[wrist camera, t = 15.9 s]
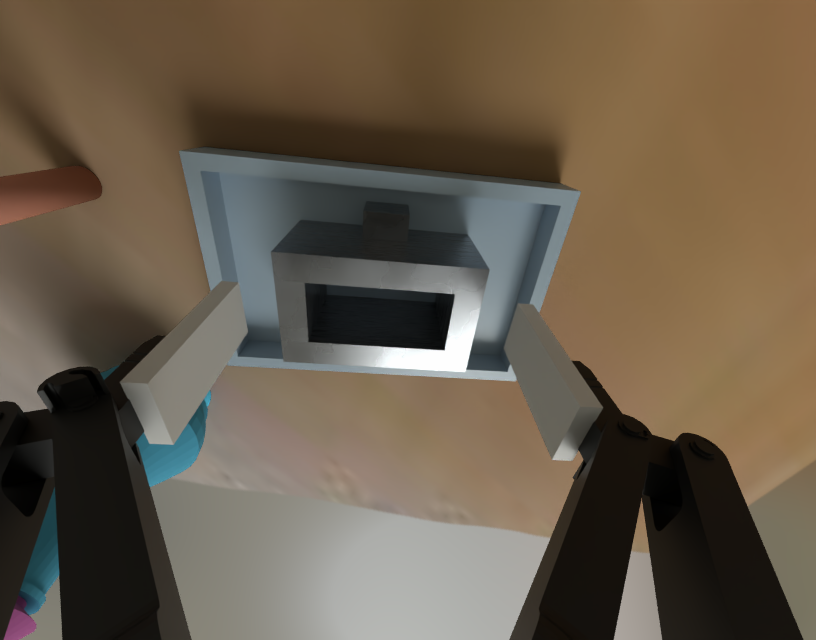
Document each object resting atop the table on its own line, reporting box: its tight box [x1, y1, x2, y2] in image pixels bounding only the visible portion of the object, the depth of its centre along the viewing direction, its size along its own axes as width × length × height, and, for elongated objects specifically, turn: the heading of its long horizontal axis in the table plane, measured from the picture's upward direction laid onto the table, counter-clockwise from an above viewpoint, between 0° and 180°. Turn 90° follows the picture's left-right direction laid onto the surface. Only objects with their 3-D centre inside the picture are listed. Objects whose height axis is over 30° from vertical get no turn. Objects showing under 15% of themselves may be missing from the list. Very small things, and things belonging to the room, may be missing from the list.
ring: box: [271, 201, 490, 372], centre depth 19 cm, size 10×8×6 cm
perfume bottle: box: [4, 365, 211, 640], centre depth 20 cm, size 9×9×15 cm
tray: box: [179, 147, 581, 381], centre depth 21 cm, size 13×20×2 cm, turn 84°
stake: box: [0, 166, 102, 225], centre depth 15 cm, size 4×2×9 cm, turn 174°
